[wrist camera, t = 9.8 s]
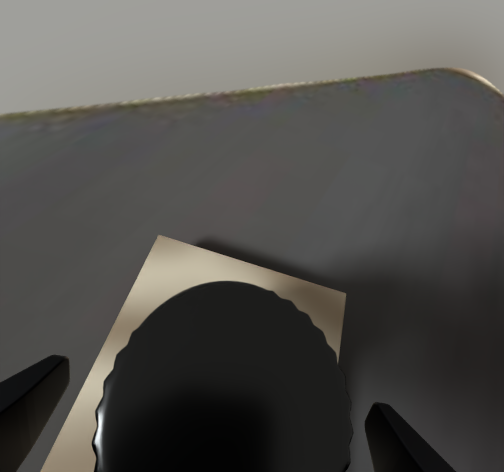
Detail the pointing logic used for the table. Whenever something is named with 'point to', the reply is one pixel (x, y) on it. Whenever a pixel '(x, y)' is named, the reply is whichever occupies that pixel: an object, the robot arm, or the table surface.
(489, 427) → the table surface
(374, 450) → the robot arm
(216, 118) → the table surface
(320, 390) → the supplement bottle
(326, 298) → the small stand
